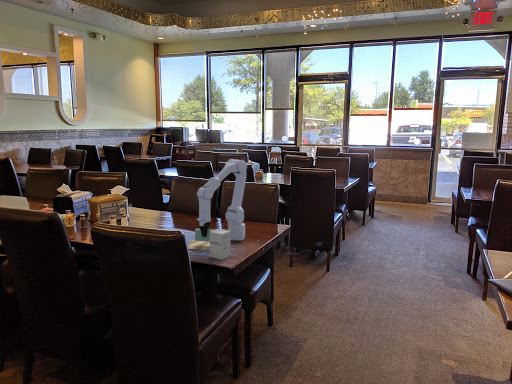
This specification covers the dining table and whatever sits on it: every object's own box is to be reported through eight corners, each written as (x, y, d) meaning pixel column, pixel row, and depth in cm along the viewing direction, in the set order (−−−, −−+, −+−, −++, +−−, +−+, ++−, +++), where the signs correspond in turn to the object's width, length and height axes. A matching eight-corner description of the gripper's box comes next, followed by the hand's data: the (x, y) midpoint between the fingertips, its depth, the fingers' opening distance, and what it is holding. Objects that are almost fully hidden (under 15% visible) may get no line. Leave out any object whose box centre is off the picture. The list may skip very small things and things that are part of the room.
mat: (221, 241, 203) (221, 240, 203) (215, 250, 187) (215, 250, 187) (192, 240, 205) (192, 239, 205) (184, 249, 189) (184, 248, 189)
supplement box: (209, 257, 178) (209, 231, 176) (218, 253, 184) (218, 228, 182) (221, 260, 174) (221, 233, 172) (230, 255, 180) (231, 230, 178)
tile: (214, 241, 195) (214, 229, 194) (214, 241, 193) (214, 230, 192) (195, 240, 196) (195, 228, 195) (195, 240, 194) (195, 229, 193)
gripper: (200, 207, 199) (200, 232, 202) (193, 213, 185) (193, 239, 187) (213, 208, 199) (213, 232, 201) (207, 213, 184) (207, 240, 187)
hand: (204, 236), depth 194 cm, fingers closed on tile, 1 cm apart
